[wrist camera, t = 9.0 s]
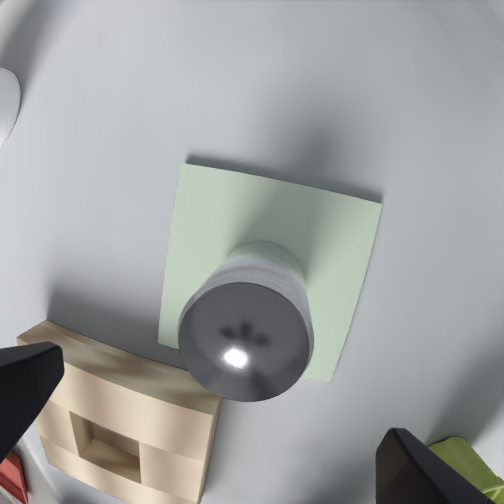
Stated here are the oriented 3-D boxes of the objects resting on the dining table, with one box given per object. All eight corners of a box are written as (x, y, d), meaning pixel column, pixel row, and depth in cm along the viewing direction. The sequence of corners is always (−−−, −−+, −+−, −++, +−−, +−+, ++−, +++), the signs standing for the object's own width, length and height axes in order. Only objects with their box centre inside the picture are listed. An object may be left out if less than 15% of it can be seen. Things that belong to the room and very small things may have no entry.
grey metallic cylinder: (312, 250, 18) (332, 298, 10) (293, 328, 19) (294, 416, 11) (228, 232, 19) (181, 265, 10) (214, 310, 20) (167, 386, 11)
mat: (379, 203, 18) (382, 204, 17) (329, 377, 20) (329, 382, 20) (184, 163, 19) (181, 162, 18) (160, 339, 21) (157, 343, 21)
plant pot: (372, 481, 22) (385, 553, 14) (438, 412, 20) (477, 485, 12) (436, 490, 22) (455, 547, 13) (495, 429, 20) (532, 484, 11)
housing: (224, 380, 21) (212, 415, 17) (202, 495, 25) (193, 524, 21) (46, 319, 22) (16, 337, 19) (66, 442, 26) (48, 463, 22)
